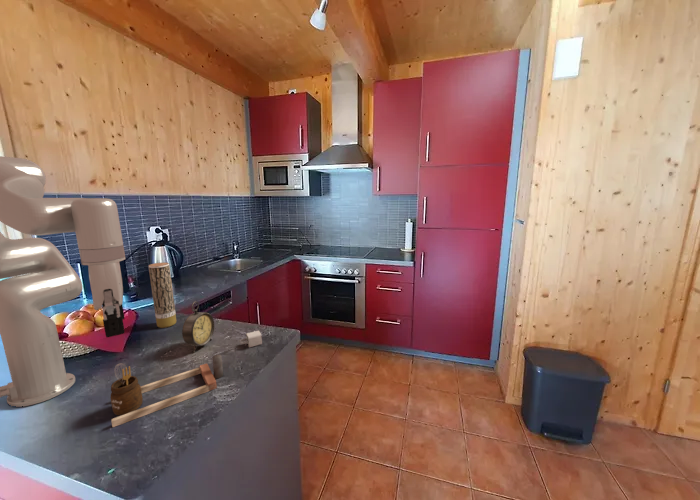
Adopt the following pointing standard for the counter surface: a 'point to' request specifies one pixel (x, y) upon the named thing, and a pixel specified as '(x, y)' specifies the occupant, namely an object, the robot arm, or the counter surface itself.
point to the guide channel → (157, 406)
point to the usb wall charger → (252, 339)
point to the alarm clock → (198, 328)
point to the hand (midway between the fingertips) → (116, 327)
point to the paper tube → (162, 294)
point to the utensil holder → (126, 394)
